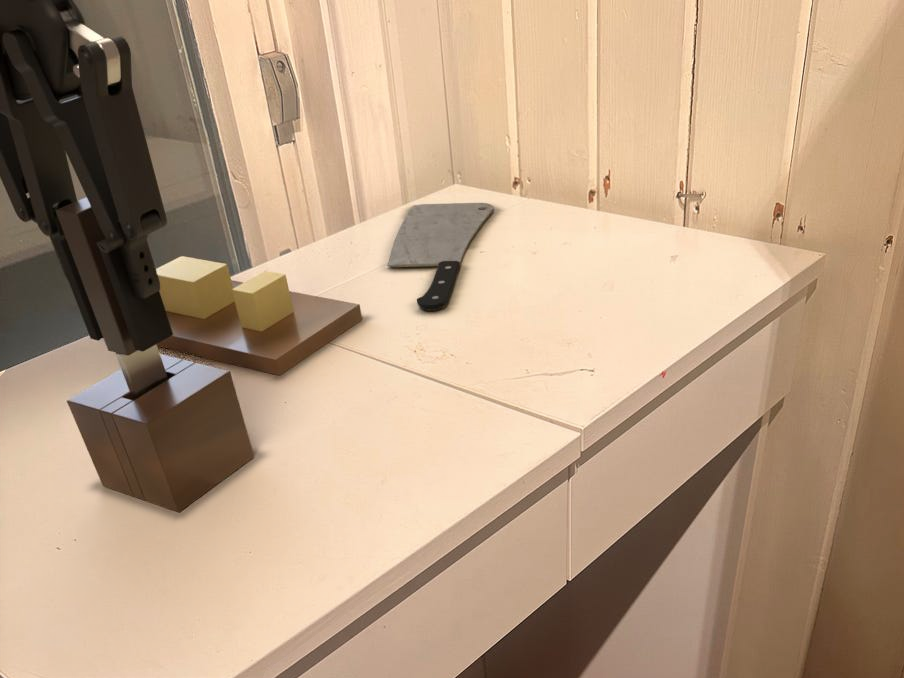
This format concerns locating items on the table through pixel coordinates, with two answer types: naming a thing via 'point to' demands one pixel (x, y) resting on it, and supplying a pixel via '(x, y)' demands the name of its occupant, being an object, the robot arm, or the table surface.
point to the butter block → (195, 287)
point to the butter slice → (263, 300)
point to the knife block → (164, 433)
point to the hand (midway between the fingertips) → (131, 335)
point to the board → (263, 333)
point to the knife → (108, 299)
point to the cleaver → (437, 243)
